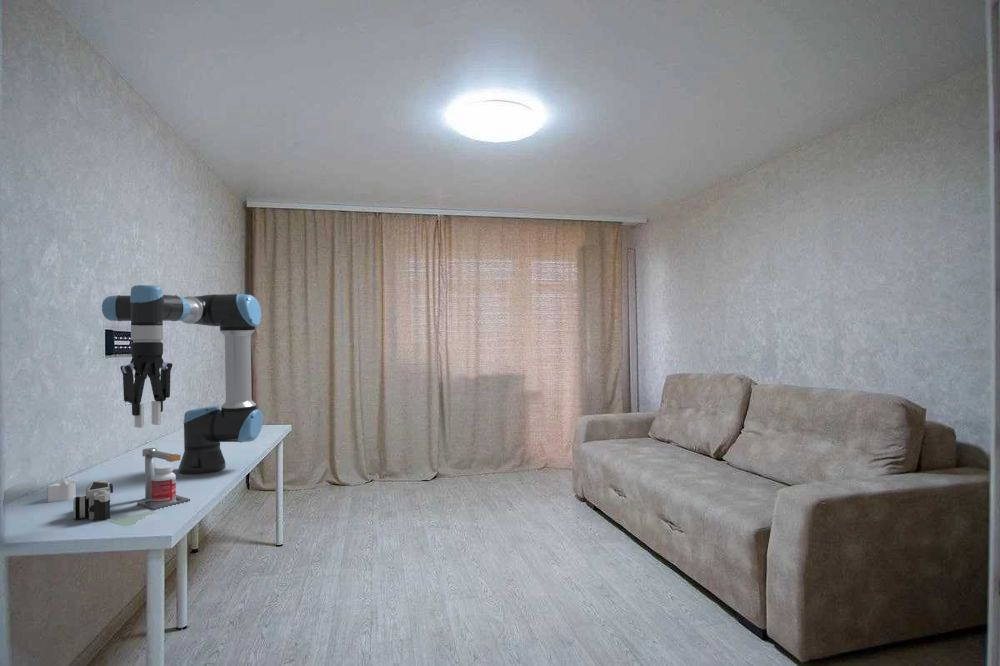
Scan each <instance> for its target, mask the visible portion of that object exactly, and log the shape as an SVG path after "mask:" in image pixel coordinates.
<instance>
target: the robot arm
mask: <svg viewBox="0 0 1000 666" xmlns="http://www.w3.org/2000/svg"><path fill="white" fill-rule="evenodd" d="M101 311H102V312H101V313H102V315H103V316H104V318H105V319H107V320H109V321H111V322H112V321H113V322H130V341H133V342H131V343H130V354H131V357H132V358H131V361H130V362H129V363H128V364H126V365H120V371H121V373H122V388H123V389H122V390H123V401H124V402H125V403H129V404H131V416H132V417H133V416H134V428H139V429H140V428H144V427H145V403H141V402H142V396H143V392H144V387H145V382H146V379H147V378H149V382H150V385H151V386H150V387H151V391H152V394H153V400H151V401H150V402H151V425H155V426H160V425H162V420H161V419H162V414H161V413H163V411H164V402H165V401H166V400H167V399H169V398H170V397H171V371H172V368H173V363H172V362H165V361H164V359H163V357H162V356H163V354H164V343H163V342H162V341H163V340H164V326H163V322H166V321H167V322H169V321H170V322H183V323H184V324H188V325H190V324H194V325H201V326H202V325H203V326H209V327H210V326H211V327H219V332H220V333H221V334H222V335H223V336H224V364H225V365H224V366H225V367H224V368H225V369H224V372H225V373H224V374H225V375H224V376H225V379H224V380H225V381H224V382H225V402H224V403H223V404H222V405H221V407H220V405H212V406H211V405H210V406H204V407H198V408H193V409H190V410H186V412H185V413H184V415H183V423H182V424H183V443H184V444H183V448H184V451H183V455H182V457H181V460H180V464H179V465H178V473H179V474H181V475H183V476H184V475H186V476H188V475H189V476H195V475H207V474H213V473H217V472H220V471H223V470H225V469H226V465H227V464H226V459H225V457H224V455H223V452H222V449H221V443H247V442H254V441H255V440H256V439H257V438H258V437H259V435H260V433H261V431H262V429H263V422H264V416H263V412H262V411H261V410H259V409H257V403H256V402H254V401H253V399H252V398H253V397H252V395H253V394H252V392H253V391H252V349H251V348H252V339H251V336H252V335H253V334H254V332H255V331H256V327H257V326H259V325H260V323H262V322H261V320H262V309H261V306H260V303H259V301H258V300H257V298H256V297H254V296H253V295H252V294H243V293H237V294H235V293H234V294H232V293H230V294H229V293H228V294H227V293H226V294H217V293H216V294H215V293H214V294H213V293H212V294H205V295H195V296H185V297H183V296H180V295H172V294H171V295H170V294H164V292H163V288H162V286H159V285H149V284H148V285H147V284H143V285H142V284H137V285H133V286H132V287H131V289H130V295H121V294H117V295H110V296H109V295H108V296H107V297H105V298H104V299H103V301H102V304H101Z"/></svg>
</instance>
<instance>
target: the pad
mask: <svg viewBox="0 0 1000 666" xmlns="http://www.w3.org/2000/svg"><path fill="white" fill-rule="evenodd" d="M153 513H154V514H155V513H156V514H157V513H158V512H156V511H154V510H153V511H152V510H149V511H145V512H141V513H138V514H133V515H129V516H126V517H122V518H118V519H115V520H110V523H113V524H116V525H119V526H122V527H124V526H125V527H124V528H127V527H126V526H128V525H129V526H131V524H132V525H133V524H136V522H138V520H141V519H143V517H144V518H145V516H147V515H150V514H151V515H152V514H153Z"/></svg>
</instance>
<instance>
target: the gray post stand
mask: <svg viewBox="0 0 1000 666" xmlns="http://www.w3.org/2000/svg"><path fill="white" fill-rule="evenodd" d="M155 465H156V464H155V457H151V456H147V457H145V456H144V471H145V472H144V486H145V487H144V489H145V491H144V492H145V493H144V495H145V497H144V498H141V500H142V501H138V502H136V504H137V505H136V506H140V507H142V508H146V509H150V510H152V509H153V511H157V509H158V510H161V509H160V508H162V509H165V508H164V507H166V508H169V507H168V506H170V507H173V506H172V505H174V506H176V504H177V505H181V504H184V502H185V503H188V501H189V502H191V498H189V497H184V496H181V495H177V494H176V499H177V500H176V502H172V503H168V504H164V505H160V506H154V505H152V494H151V493H152V488H151V479H152V477H153V476H154V475H155V473H154V468H155V467H156V466H155ZM180 503H181V504H180Z"/></svg>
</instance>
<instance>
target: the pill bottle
mask: <svg viewBox="0 0 1000 666" xmlns="http://www.w3.org/2000/svg"><path fill="white" fill-rule="evenodd" d="M173 471H174V466H173V464H172V465H171V464H164V465H157V466H155V468H154V473H155V475H154V476H153V477H152V479H151V488H152V493H151V494H152V503H151V505H154V506H160V505H164V504H168V503H172V502H176V501H177V500H176V495H177V479H176V478H177V475H176V474H175V472H173Z"/></svg>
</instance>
